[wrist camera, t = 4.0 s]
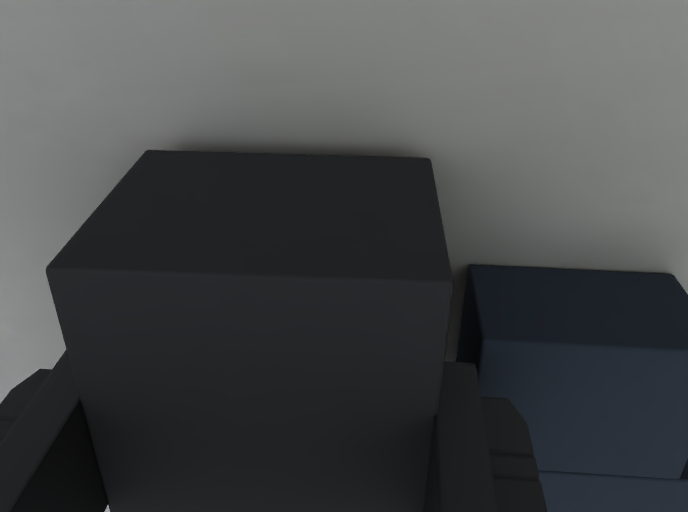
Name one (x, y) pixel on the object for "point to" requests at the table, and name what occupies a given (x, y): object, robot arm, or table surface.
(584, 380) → the grey pad
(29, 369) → the table surface
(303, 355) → the black usb stick
